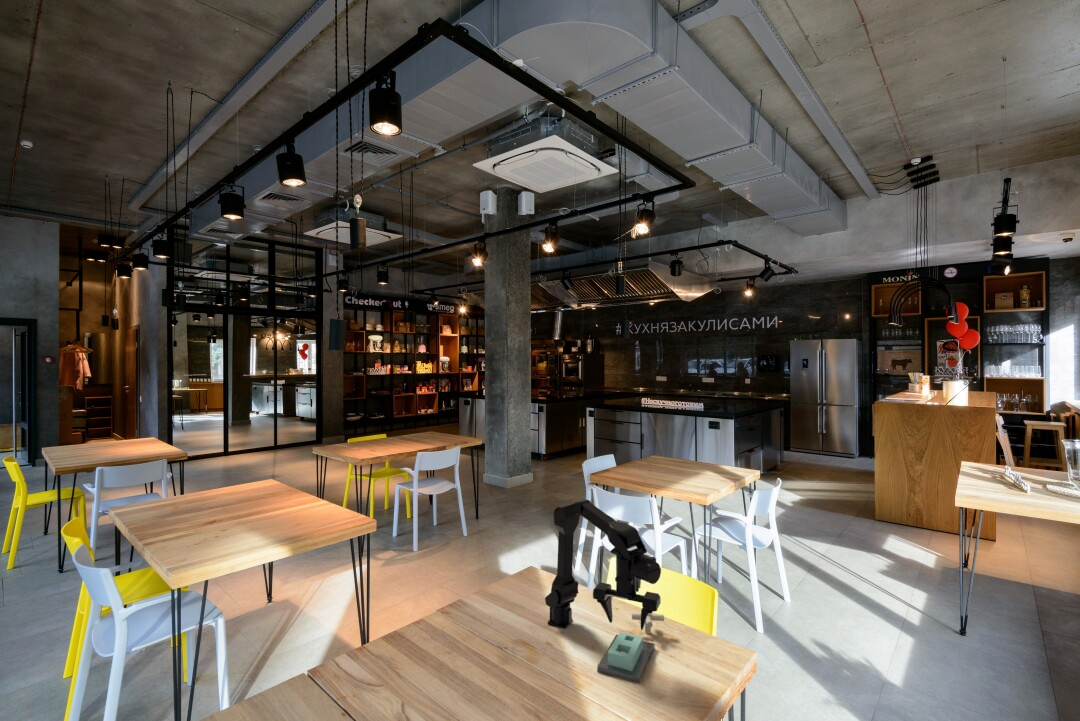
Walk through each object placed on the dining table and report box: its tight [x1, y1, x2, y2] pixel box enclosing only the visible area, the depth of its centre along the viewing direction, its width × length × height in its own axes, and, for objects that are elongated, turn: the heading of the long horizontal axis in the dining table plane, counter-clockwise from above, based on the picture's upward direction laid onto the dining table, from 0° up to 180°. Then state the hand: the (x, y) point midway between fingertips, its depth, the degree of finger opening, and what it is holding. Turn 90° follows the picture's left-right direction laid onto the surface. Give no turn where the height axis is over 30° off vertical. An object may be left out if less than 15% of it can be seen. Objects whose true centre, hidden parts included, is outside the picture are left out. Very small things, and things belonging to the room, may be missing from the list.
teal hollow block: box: [608, 631, 644, 671], centre depth 147 cm, size 12×7×4 cm, turn 154°
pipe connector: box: [631, 612, 665, 635], centre depth 162 cm, size 10×10×10 cm
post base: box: [596, 634, 656, 684], centre depth 148 cm, size 12×18×4 cm, turn 154°
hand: (626, 625), depth 147 cm, fingers open, 9 cm apart
